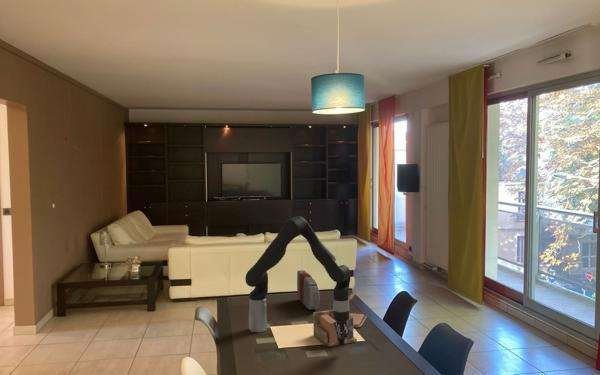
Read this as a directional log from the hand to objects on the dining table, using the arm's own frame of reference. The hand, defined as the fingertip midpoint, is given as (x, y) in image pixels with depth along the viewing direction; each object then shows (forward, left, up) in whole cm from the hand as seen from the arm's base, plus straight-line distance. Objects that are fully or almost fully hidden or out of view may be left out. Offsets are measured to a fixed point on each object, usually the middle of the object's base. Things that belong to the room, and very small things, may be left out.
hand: (341, 345), depth 211 cm
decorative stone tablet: (+10, +73, -4) cm, 74 cm away
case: (+21, +40, -5) cm, 45 cm away
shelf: (+4, +18, -4) cm, 19 cm away
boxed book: (0, +16, -3) cm, 16 cm away
